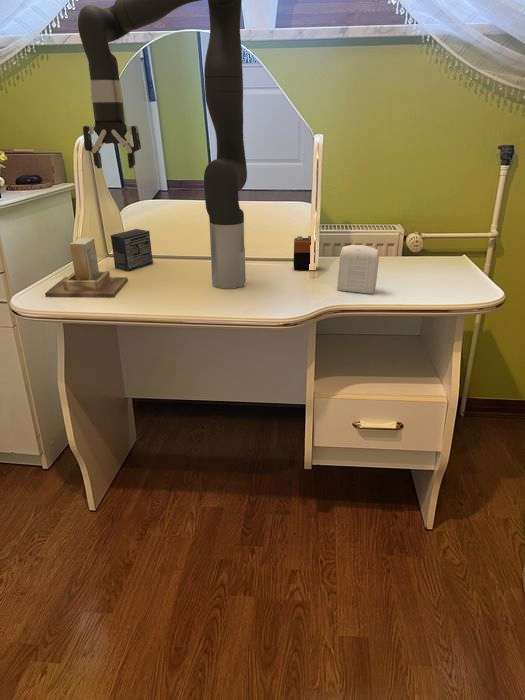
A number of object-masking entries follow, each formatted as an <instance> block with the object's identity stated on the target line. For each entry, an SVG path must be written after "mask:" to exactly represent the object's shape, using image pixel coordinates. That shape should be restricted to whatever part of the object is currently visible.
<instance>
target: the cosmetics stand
mask: <svg viewBox="0 0 525 700" xmlns="http://www.w3.org/2000/svg"><path fill="white" fill-rule="evenodd" d="M99 275H100V277H99V278H98V279H97V280H96V281H94V280H76V278H75V272H74V271H73V272H72V273H71V274H70V275H68V276H64V277H63V278H62V279H61V280H60V281H58V282H57V283H55V284H54V285H53V286H52V287H51V288H49V289H48V290H47V291H45V292H44V296H45V297H46V298H115V297H116V295H117V294H118V293H119V292H120V291H121V289H123V288H124V287H125V285H126V284H127V282H128V281H129V279H128V277H124V276H123V277H120V276H118V277H116V276H113V277H111V274H110V270H99Z"/></svg>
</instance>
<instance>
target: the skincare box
mask: <svg viewBox="0 0 525 700" xmlns="http://www.w3.org/2000/svg"><path fill="white" fill-rule="evenodd" d="M69 247H70V253H71V258H72V259H71V261H72V265H73V273H74V272H75V278H76V280H94V281H96V280H97V279H98V278H99V277H100V275H99V271H100V270H99V264H98V257H97V249H96V244H95V238H93V237H91V238H89V237H79V238H77V239H75V240H73V241H72V242H71V243H69Z"/></svg>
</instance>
